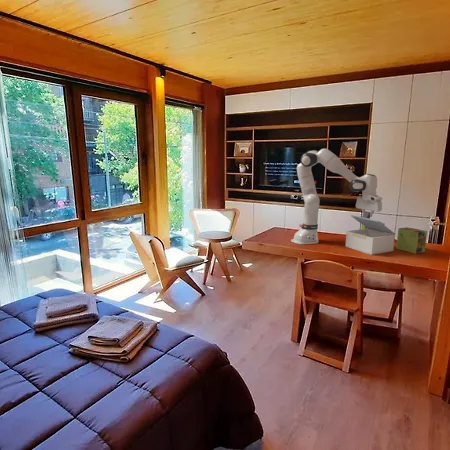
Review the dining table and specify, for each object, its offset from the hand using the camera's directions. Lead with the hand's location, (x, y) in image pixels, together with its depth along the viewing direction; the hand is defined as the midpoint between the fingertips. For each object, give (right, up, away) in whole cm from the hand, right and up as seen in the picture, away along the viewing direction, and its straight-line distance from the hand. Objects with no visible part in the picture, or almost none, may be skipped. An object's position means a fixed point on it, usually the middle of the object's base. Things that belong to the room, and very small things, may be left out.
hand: (367, 216), depth 234 cm
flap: (+5, -7, +4) cm, 9 cm away
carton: (+4, -24, +7) cm, 25 cm away
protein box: (+32, -25, +3) cm, 41 cm away
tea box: (+18, -19, +33) cm, 42 cm away
